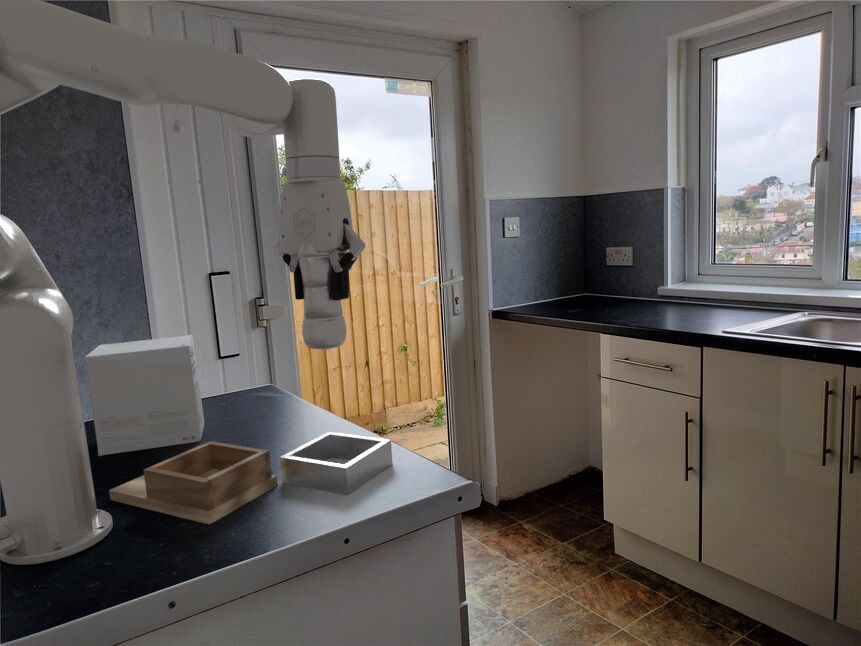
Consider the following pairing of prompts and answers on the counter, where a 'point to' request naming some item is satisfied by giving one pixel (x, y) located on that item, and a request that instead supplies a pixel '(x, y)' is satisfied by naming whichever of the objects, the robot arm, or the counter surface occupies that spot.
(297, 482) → the holder
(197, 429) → the supplement box
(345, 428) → the counter surface
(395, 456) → the counter surface
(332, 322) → the plastic bottle
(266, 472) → the wooden tray
